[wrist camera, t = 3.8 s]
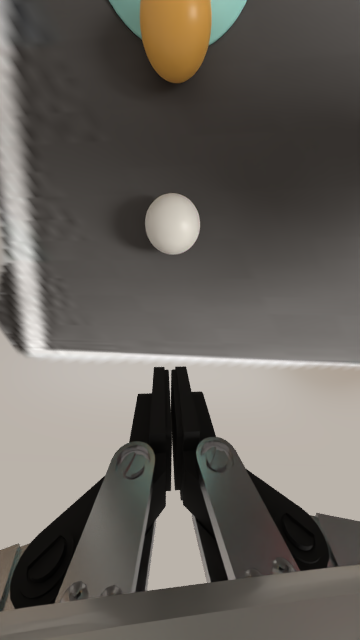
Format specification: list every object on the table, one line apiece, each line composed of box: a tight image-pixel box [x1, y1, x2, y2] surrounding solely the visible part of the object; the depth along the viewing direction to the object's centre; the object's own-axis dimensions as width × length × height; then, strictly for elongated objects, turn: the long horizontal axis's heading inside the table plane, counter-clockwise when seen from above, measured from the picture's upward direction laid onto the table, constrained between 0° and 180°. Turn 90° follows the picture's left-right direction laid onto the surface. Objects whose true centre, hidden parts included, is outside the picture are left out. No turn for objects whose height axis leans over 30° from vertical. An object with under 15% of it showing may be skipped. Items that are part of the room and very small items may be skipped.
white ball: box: [145, 193, 200, 255], centre depth 19 cm, size 6×6×6 cm
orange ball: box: [140, 0, 212, 83], centre depth 15 cm, size 6×6×6 cm
